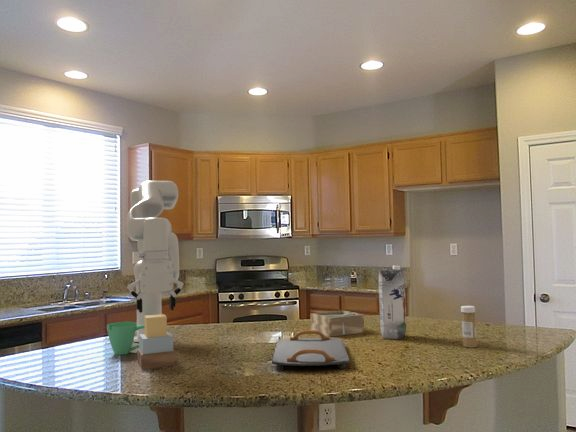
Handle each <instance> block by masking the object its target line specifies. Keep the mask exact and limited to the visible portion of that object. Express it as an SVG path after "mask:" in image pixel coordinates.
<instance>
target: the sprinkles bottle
mask: <svg viewBox="0 0 576 432" xmlns="http://www.w3.org/2000/svg"><path fill="white" fill-rule="evenodd" d="M460 312H461V313H460V314H461V329H462V346H463V347H465V348H477V347H478V344H477V327H476V316H475V315H476V307H475V306H474V305H462V306H460Z"/></svg>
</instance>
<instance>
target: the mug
mask: <svg viewBox="0 0 576 432" xmlns="http://www.w3.org/2000/svg"><path fill="white" fill-rule="evenodd" d="M142 328H144V325H139V326H137V321H136V322H135V321H119V322H112V323H108V324H106V330H107V334H108V338H109V339H108V340H109V343H110V346H111V349H112V351H113V353H114V355H117V356H118V355H119V356H120V355H121V356H123V355H127V354H130V352H132V351H135V350H138V349H139V343H138V344H135V345H134V346H133V343H134V341H133V340H134V337H135V336H136V335H135V334H136V332H137V330H139V329H142Z"/></svg>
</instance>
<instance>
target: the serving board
mask: <svg viewBox="0 0 576 432" xmlns="http://www.w3.org/2000/svg"><path fill="white" fill-rule="evenodd" d="M307 334H308V335H310V334H312V335H313V334H314V335H318V336H320V337H299V336H301V335H307ZM298 337H299V338H298ZM350 362H351V359H350V357H349V354H348V352H347V349H346V346H345V344H344V341H343V339H342V338H337V337H335V338H334V337H333V338H332V337H329V336H326V335H324V334H323V333H321V332H320V331H316V330H311V329H305V330H304V329H303V330H300V331H298V332H296V334H295V335H293V336H291V337H289V339H288V338H287V339H285V338H283V339H278V340H277V342H276V345H275V348H274V351H273V354H272V360H271V364H272V365H275V370H276V371H278V372H280V371H283V370H284V366H294V367H299V366H300V367H313V366H314V367H317V366H330V365H333V366H334V365H338V370H345V369H346V368H347V365H346V364H348V363H350Z"/></svg>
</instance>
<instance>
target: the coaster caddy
mask: <svg viewBox="0 0 576 432" xmlns="http://www.w3.org/2000/svg"><path fill="white" fill-rule="evenodd" d="M349 313H354V312H352V311H348V310H333V311H324V312H315V313H314V312H313V313H309V316H310V321H309V322H310V330H316V331H317V327H318V331H320V332H321V333H323V334H324V335H325V336H329V338H331V337H338V336H346V335H347V336H348V335H355V334H363V333H365V315H364V314H362V313H357V312H356V313H354V315H353V316H344V317H333V318H329V317H325V316H321V315H343V314H349ZM316 316H317V317H316ZM343 324H344V330H345V334H343Z"/></svg>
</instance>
